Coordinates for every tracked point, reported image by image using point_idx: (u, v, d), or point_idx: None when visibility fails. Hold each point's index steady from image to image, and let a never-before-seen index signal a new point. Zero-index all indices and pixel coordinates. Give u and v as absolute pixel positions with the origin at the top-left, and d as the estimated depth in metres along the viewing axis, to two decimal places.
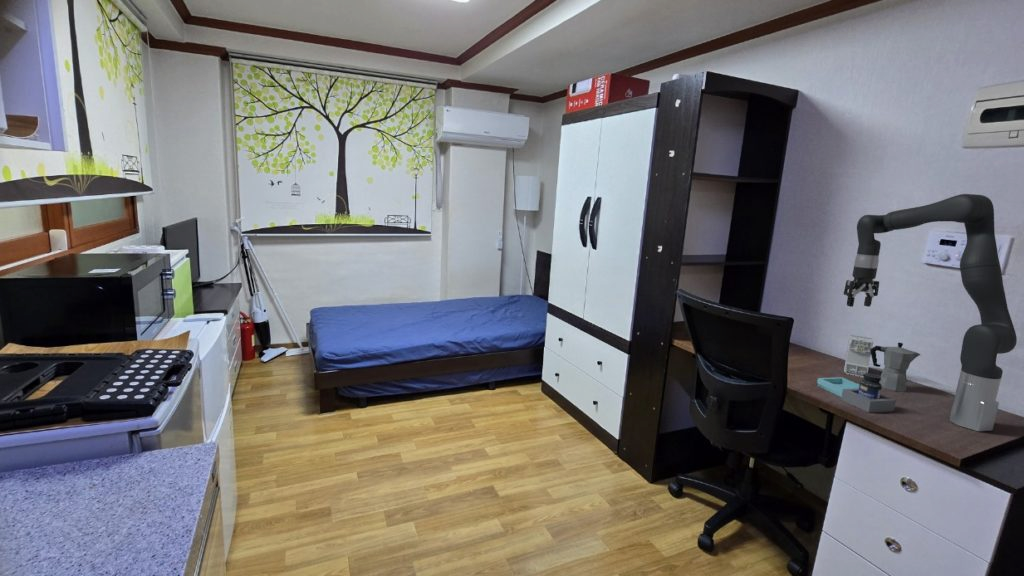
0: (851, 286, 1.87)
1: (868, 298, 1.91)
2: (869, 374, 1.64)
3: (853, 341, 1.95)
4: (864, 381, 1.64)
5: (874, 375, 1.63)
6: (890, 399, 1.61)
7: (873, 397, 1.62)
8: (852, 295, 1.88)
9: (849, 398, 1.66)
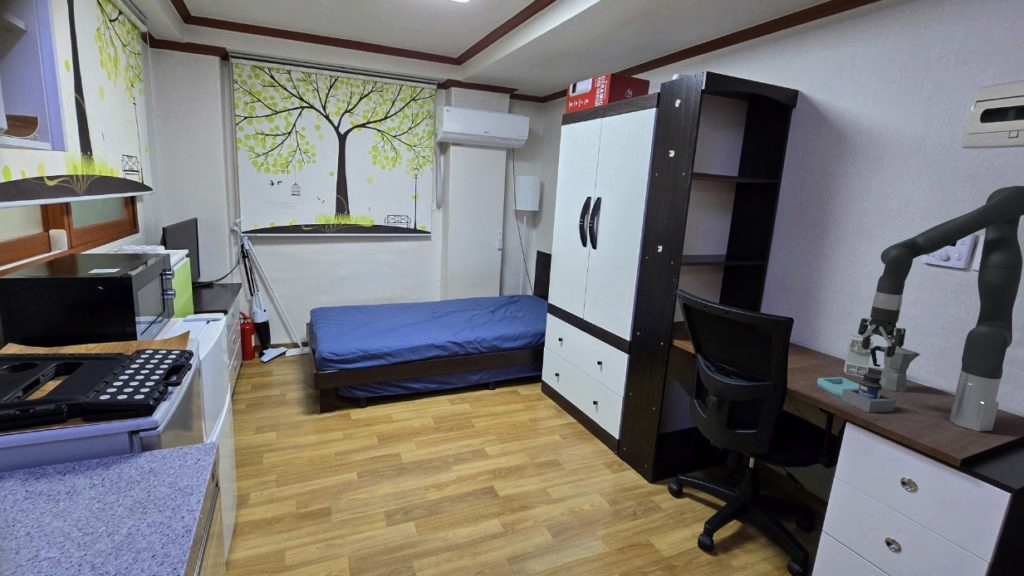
0: None
1: (868, 340, 1.65)
2: (869, 374, 1.64)
3: (853, 341, 1.95)
4: (864, 381, 1.64)
5: (874, 375, 1.63)
6: (890, 399, 1.61)
7: (873, 397, 1.62)
8: None
9: (849, 398, 1.66)
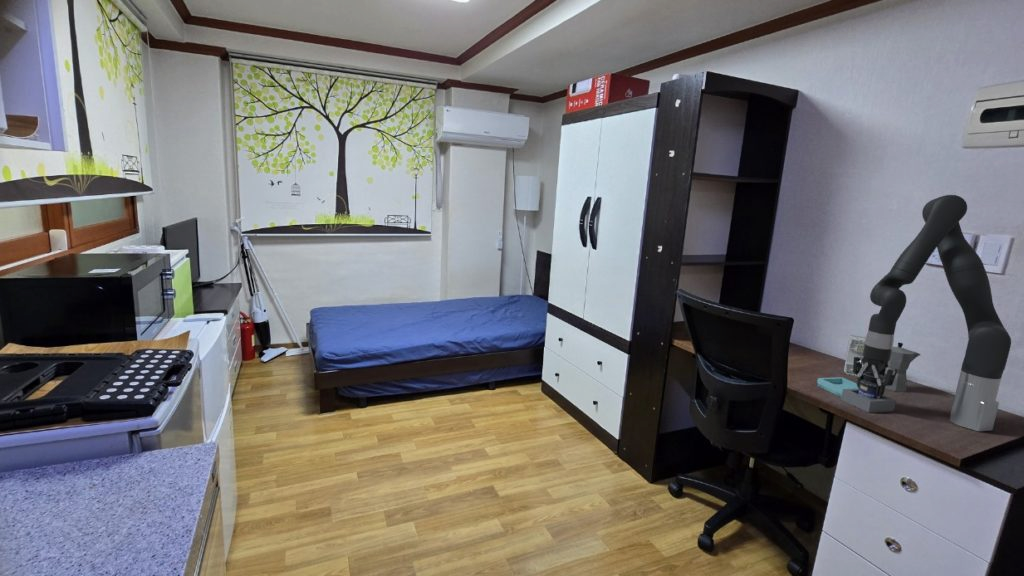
0: None
1: None
2: (869, 374, 1.64)
3: (853, 341, 1.95)
4: (864, 381, 1.64)
5: None
6: (890, 399, 1.61)
7: (873, 397, 1.62)
8: None
9: (849, 398, 1.66)
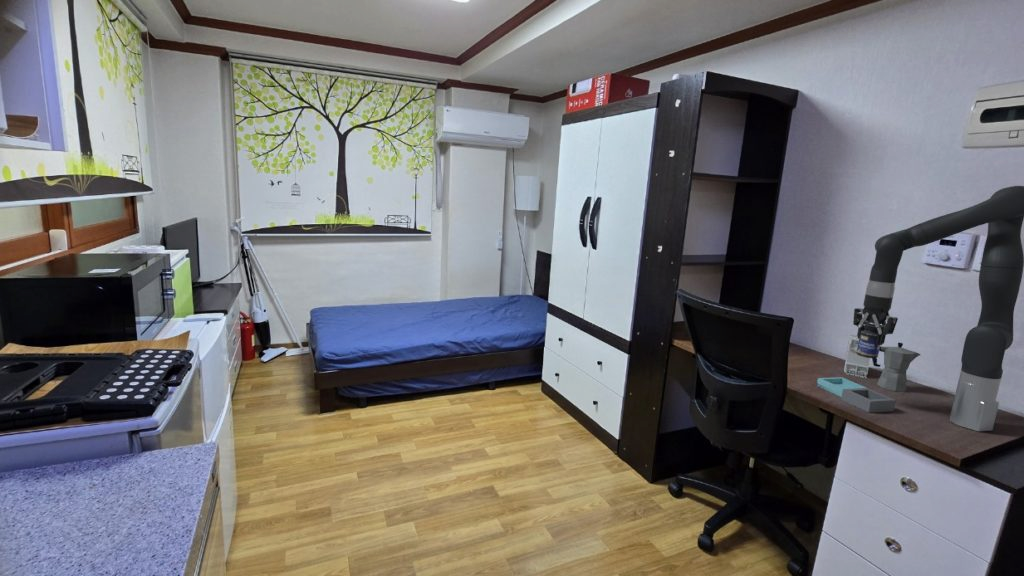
0: None
1: None
2: (870, 324, 1.65)
3: (853, 341, 1.95)
4: (865, 331, 1.64)
5: None
6: (890, 399, 1.61)
7: (873, 346, 1.62)
8: None
9: (849, 398, 1.66)
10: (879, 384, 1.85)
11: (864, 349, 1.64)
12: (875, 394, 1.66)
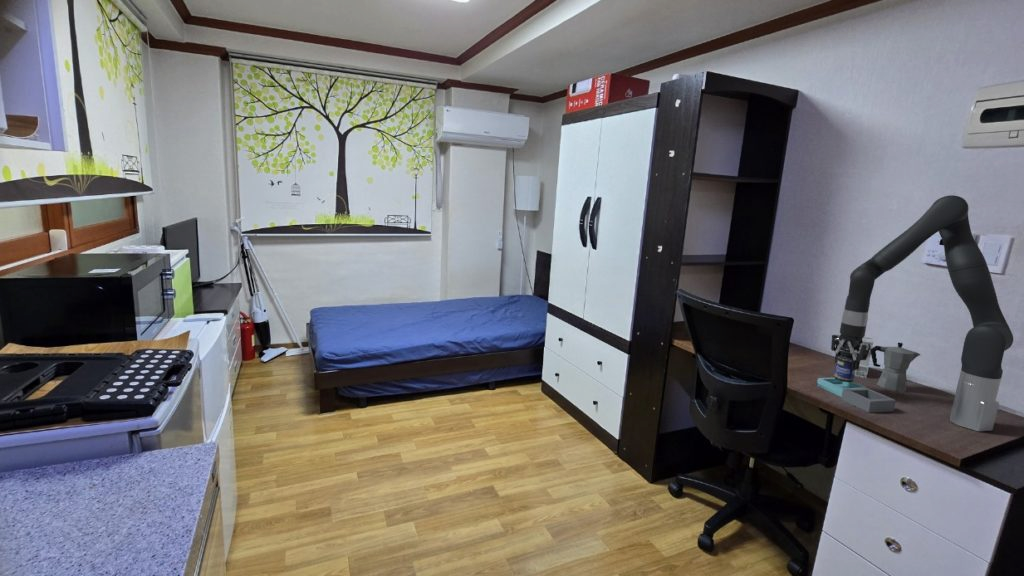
0: None
1: None
2: (845, 350, 1.76)
3: None
4: (841, 357, 1.76)
5: None
6: (890, 399, 1.61)
7: (849, 371, 1.74)
8: None
9: (849, 398, 1.66)
10: (879, 384, 1.85)
11: (840, 374, 1.75)
12: (875, 394, 1.66)
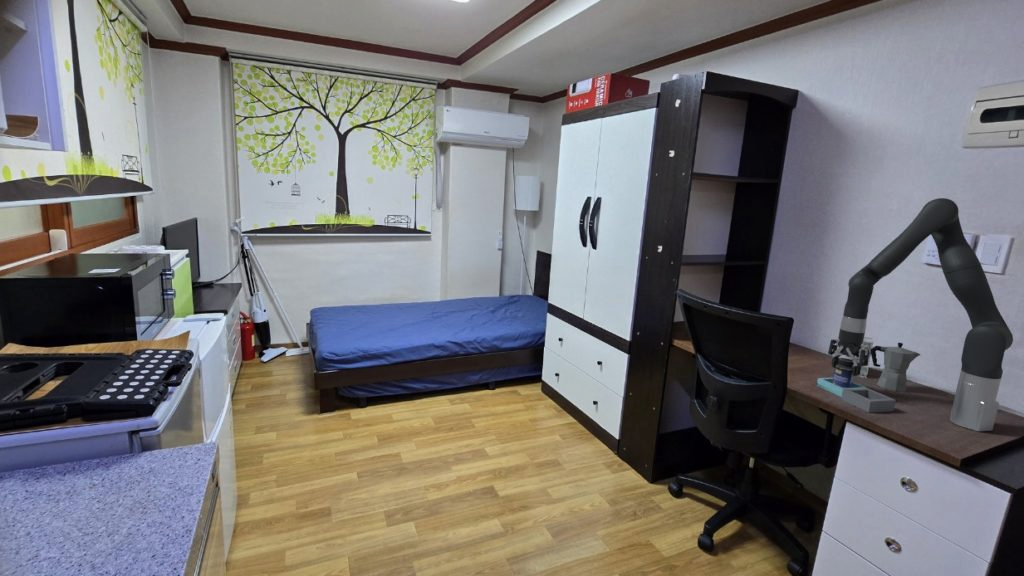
0: None
1: (837, 359, 1.80)
2: (843, 359, 1.77)
3: None
4: (839, 365, 1.76)
5: (848, 360, 1.76)
6: (890, 399, 1.61)
7: (847, 380, 1.74)
8: None
9: (849, 398, 1.66)
10: (879, 384, 1.85)
11: (838, 382, 1.76)
12: (875, 394, 1.66)
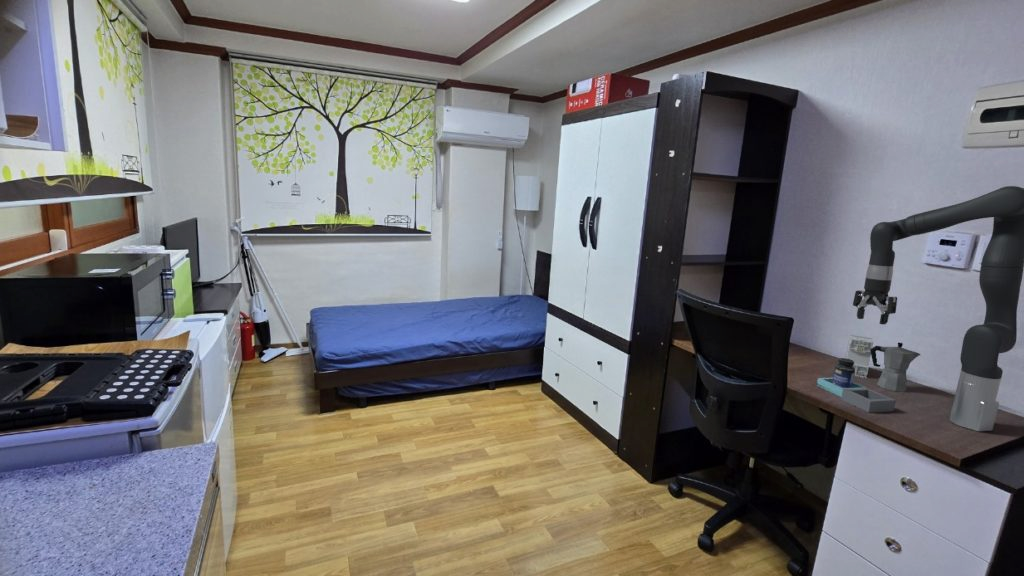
0: None
1: (863, 310, 1.78)
2: (843, 359, 1.77)
3: (853, 341, 1.95)
4: (839, 365, 1.76)
5: (848, 360, 1.76)
6: (890, 399, 1.61)
7: (847, 380, 1.74)
8: None
9: (849, 398, 1.66)
10: (879, 384, 1.85)
11: (838, 382, 1.76)
12: (875, 394, 1.66)
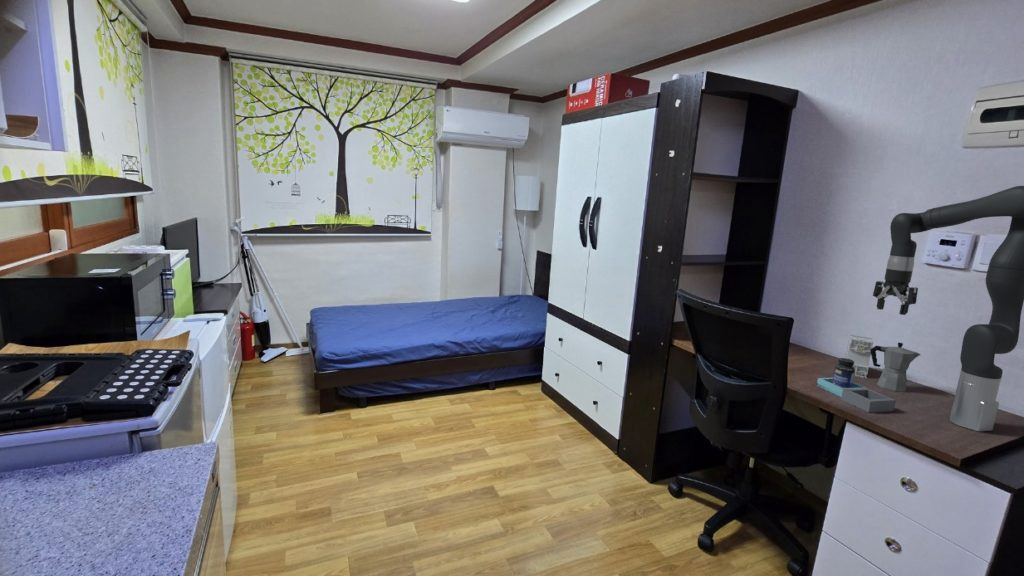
0: None
1: (883, 301, 1.80)
2: (843, 359, 1.77)
3: (853, 341, 1.95)
4: (839, 365, 1.76)
5: (848, 360, 1.76)
6: (890, 399, 1.61)
7: (847, 380, 1.74)
8: None
9: (849, 398, 1.66)
10: (879, 384, 1.85)
11: (838, 382, 1.76)
12: (875, 394, 1.66)
